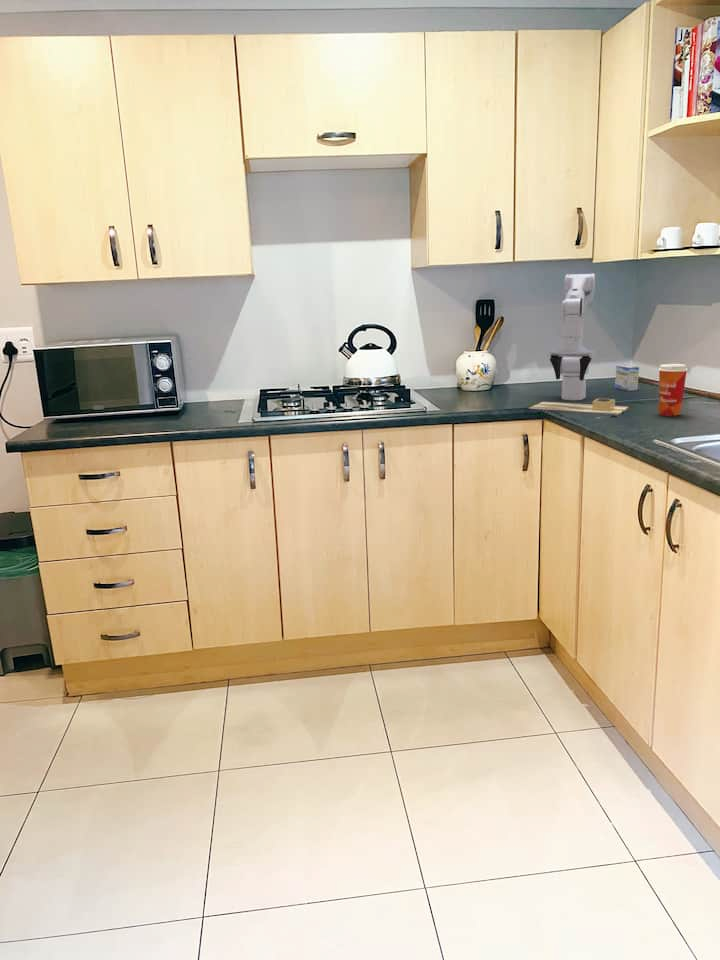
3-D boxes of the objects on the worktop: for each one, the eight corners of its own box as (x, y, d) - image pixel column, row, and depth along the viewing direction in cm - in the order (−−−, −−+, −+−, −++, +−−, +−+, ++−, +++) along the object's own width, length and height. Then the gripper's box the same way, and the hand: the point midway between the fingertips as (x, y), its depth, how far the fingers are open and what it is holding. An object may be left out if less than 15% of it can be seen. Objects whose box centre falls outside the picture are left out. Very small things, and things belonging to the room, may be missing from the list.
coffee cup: (648, 413, 222) (652, 364, 218) (670, 411, 224) (673, 362, 220) (669, 418, 214) (673, 367, 210) (690, 415, 217) (695, 365, 213)
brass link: (597, 407, 230) (597, 398, 229) (614, 408, 227) (615, 399, 226) (592, 409, 226) (592, 401, 225) (610, 411, 223) (610, 402, 222)
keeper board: (542, 404, 244) (543, 391, 243) (628, 409, 229) (629, 395, 228) (528, 411, 233) (528, 397, 232) (617, 417, 218) (618, 402, 217)
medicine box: (614, 388, 274) (615, 365, 271) (624, 387, 275) (625, 364, 273) (627, 391, 266) (629, 367, 264) (637, 390, 268) (639, 366, 265)
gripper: (545, 337, 230) (543, 380, 234) (591, 338, 222) (588, 382, 226) (552, 335, 236) (550, 377, 239) (597, 336, 228) (595, 379, 232)
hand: (569, 379), depth 233 cm, fingers open, 7 cm apart
